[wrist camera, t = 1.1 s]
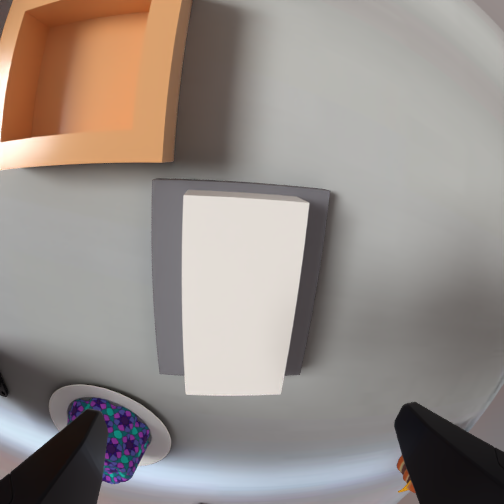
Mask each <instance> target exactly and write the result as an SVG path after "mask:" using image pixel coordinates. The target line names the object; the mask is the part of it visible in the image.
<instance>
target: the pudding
mask: <svg viewBox="0 0 504 504" xmlns="http://www.w3.org/2000/svg"><path fill="white" fill-rule="evenodd" d="M83 397H96V398H92V399H91V400H89V401H88V402H87V401H84V400H81V399H79V400H76V399H78V398H83ZM100 398H102V399H100ZM103 399H106V400H103ZM74 400H75V401H74ZM107 400H109V401H112V402H115V403H117V404H120V405H122V406H124V407H126V408H127V409H126V408H124V407H118V406H113V405H112V404H111V403H109V402H108V401H107ZM72 401H74V402H73V403H72V406H71V411H69V412H68V416H67V409H68V406H69V405H70V403H71V402H72ZM86 409H94V410H99V411H101V412H102V414H103V417H104V420H105V423H106V425H107V428H108V439H107V446H106V454H105V462H104V471H103V478H102V481H105V482H107V483H111V484H117V483H120V482H125V481H128V480H129V479H131V478H132V476H133V474H134V472H135V470H136V468H137V466H145V465H150V464H154V463H156V462H158V461H160V460H162V459H163V458H164V457H166V455H167V454H168V453H169V451H170V448H171V438H170V434H169V432H168V430H167V428H166V427H165V425H164V424H163V423H162V422H161V421H160V419H159V418H158V417H156V416H155V415H154V414H153V413H152V412H151V411H150V410H148V409H147V408H145V407H144V406H143V405H141V404H139V403H138V402H136V401H134V400H132V399H131V398H128V397H126V396H124V395H122V394H120V393H117V392H114V391H111V390H108V389H106V388H101V387H97V386H92V385H83V384H79V385H69V386H64V387H62V388H60V389H58V390H56V391H55V392H54V393H53V394H52V396H51V398H50V400H49V413H50V416H51V419H52V421H53V422H54V424H55V426H56V427H57V429H58V430H59V431H61V430H62V429H63V428H65V427H66V426H67V425H68V424H69V423H71V422H72V421H73V420H74V419H75V418H77V417H78V416H79V415H80V414H81V413H82V412H84V411H85V410H86ZM128 409H129V410H128ZM130 410H131V411H130ZM133 412H134V413H135V414H137V415H138V416H139V417H140V418H141V419H142V420H143V421H144V422H145V423H146V424H147V426H148V427H147V426H146V425H145V424H143V423H141V422H139V421H138V420H137V417H136V415H135V414H134V413H133ZM148 428H149V429H150V430H149V429H148ZM150 432H151V436H152V440H151V443H150V445H149V441H148V438H149V436H150ZM148 445H149V446H148Z"/></svg>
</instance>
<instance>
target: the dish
mask: <svg viewBox="0 0 504 504" xmlns="http://www.w3.org/2000/svg"><path fill="white" fill-rule="evenodd" d="M192 2H193V0H13V2H12V5H11V7H10V10H9V13H8V16H7V19H6V22H5V25H4V29H3V32H2V35H1V39H0V170H6V169H16V168H26V167H37V166H50V165H66V164H87V163H127V162H154V163H163V162H174V149H175V135H176V123H177V111H178V101H179V92H180V83H181V74H182V66H183V58H184V51H185V44H186V37H187V31H188V25H189V19H190V13H191V7H192Z"/></svg>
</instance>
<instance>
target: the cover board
mask: <svg viewBox="0 0 504 504" xmlns="http://www.w3.org/2000/svg"><path fill="white" fill-rule="evenodd" d="M308 211H309V202H307V201H305V200H303V199H301V198H299V197H296V196H285V195H273V194H259V193H243V192H226V191H206V190H187V192H186V193H185V194H184V195H183V223H182V327H183V354H184V374H185V391H186V395H215V396H244V395H275V394H281V390H282V385H283V380H284V374H285V369H286V363H287V357H288V352H289V346H290V340H291V334H292V328H293V321H294V315H295V309H296V302H297V295H298V289H299V282H300V275H301V267H302V260H303V252H304V245H305V237H306V229H307V220H308Z"/></svg>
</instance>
